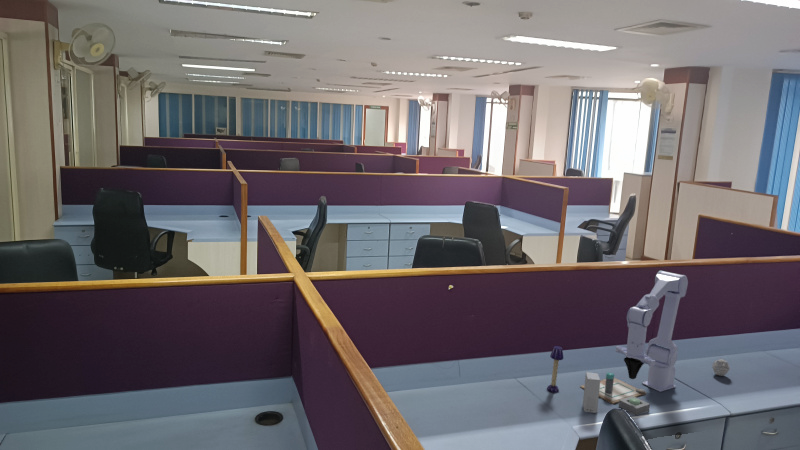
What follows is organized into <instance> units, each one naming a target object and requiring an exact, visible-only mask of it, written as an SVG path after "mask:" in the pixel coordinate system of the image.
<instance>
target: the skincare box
mask: <svg viewBox="0 0 800 450" xmlns="http://www.w3.org/2000/svg"><path fill="white" fill-rule="evenodd" d="M584 377H585V378H584V385H585V386H584V389H583V396H582V397H583V398H582V407H583V411H584V412H585V413H594V414H598V407H599V398H600V397H599V389H600V380H601V378H600V376H599V373H595V372H588V371H587V372H585V376H584Z"/></svg>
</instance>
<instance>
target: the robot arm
mask: <svg viewBox="0 0 800 450" xmlns="http://www.w3.org/2000/svg"><path fill="white" fill-rule="evenodd" d="M688 284H689V281H688V277H687V275H685V274H679V273H674V272H669V271H664V270H659V271H657V273H656V275H655V278H654V286H653V288H652V289H651V291H650V293H647V294H645V295H643V296H642V298H641V299H640V300H639V301H638V303H636V305H635V306H632V307H630V308H629V309H628V311H627V314H626V321H627V322H626V323H627V324H626V326H627V328H628V335H627V341H626V342H627V343H626V347H624V346H621V345H618V346H616V347H615V353H619V354H622V355H624V356H625V357H624V358H623V362H624V363H625V365H626V368H627V373H628V378H629V379H630V380H635V379H637V377H638V374H639V372H640V370H641V368H642V367H643V365H644V364H646V365H648V375H647V380H646V381H643V382H641V383H642V385H644V386H647V387H648V388H651V389H653V390H656V391H658V392H660V393H661V392H665V391H668V390H671V389H674V388H676V385H675V384H674V383H675V377H676V368H675V365H676V363H677V360H678V346H677V345H676V344H675V343H674V342H673V340H672V338H673V334H674V328H675V323H676V318H677V314H678V310H679V305H680V302H681V301H680V300H681V298H684V297H686V294H687V291H688V290H687V289H688ZM664 296H665V299H664V303H663V307H662V311H661V312H662V313H661V317H660V321H659V325H658V332H657V335H656V337H654V338H652V339H650V340H649V341H648V343H647V346H646V338H647V330H648V326H649V325H650V324H651V320H652V318H653V316H654V315H653V314H654V312H655V311H656V310H657V309H658V308H659V306H660V300H661V299H662V298H663V297H664ZM645 348H646V349H645Z"/></svg>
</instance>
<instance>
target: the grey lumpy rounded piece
mask: <svg viewBox="0 0 800 450" xmlns="http://www.w3.org/2000/svg"><path fill="white" fill-rule="evenodd" d="M711 368H712V371H713V373H714V374H715V375H716V376H720V377H723V376H725V375H727V374H728V372H729V371H730V365H729V363H728V361H727V360H725V359H722V358H719V359H718V360H715V361H714V362H713V363H712V367H711Z"/></svg>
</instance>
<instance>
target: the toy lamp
mask: <svg viewBox="0 0 800 450" xmlns="http://www.w3.org/2000/svg"><path fill="white" fill-rule="evenodd" d="M550 358H551V359H552V360H553V365H552V373H551V382H550V384H549V385H547V388H546V390H547V392H549V393H550V392H551V393H553V394H555V393H559V391H560V389H559V387H558V386H557V383H556V382H557V377H558V373H559V371H558V370H559V362H560V361H562V360H564V352H563V348H562V347H561V346H558V345H555V346H554V347H553V348H552V350H551V353H550Z"/></svg>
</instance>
